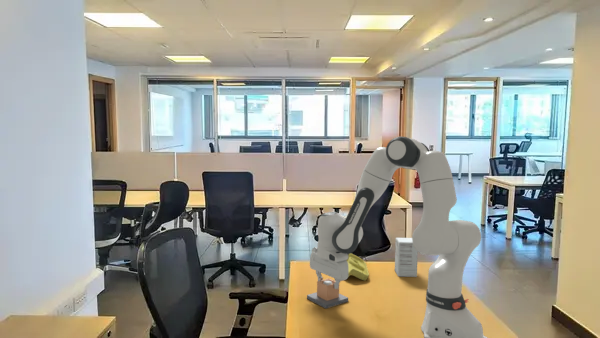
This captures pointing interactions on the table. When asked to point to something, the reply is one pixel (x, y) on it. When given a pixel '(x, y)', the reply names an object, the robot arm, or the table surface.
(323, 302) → the base
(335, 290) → the sleeve
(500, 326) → the table surface
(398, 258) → the supplement box
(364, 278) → the plastic component
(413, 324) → the table surface
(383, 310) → the table surface
